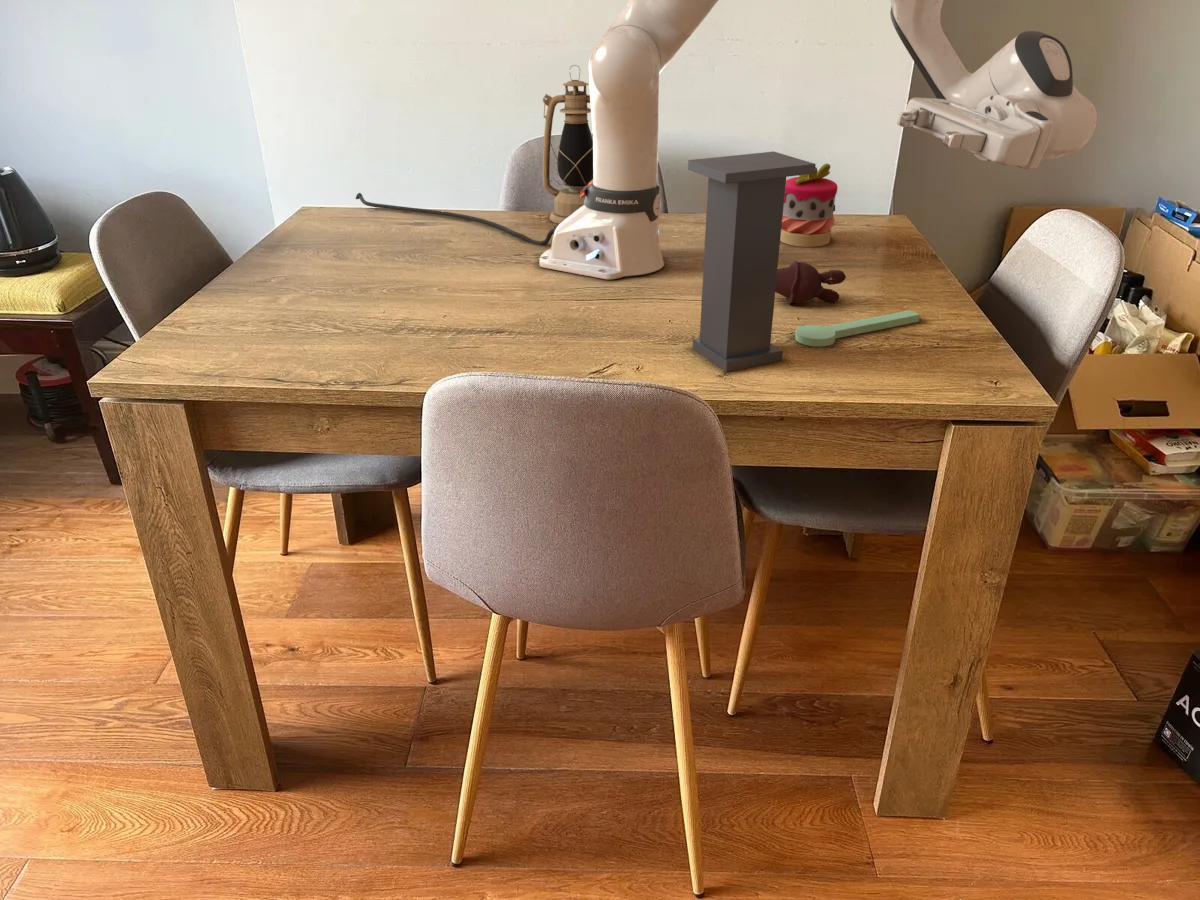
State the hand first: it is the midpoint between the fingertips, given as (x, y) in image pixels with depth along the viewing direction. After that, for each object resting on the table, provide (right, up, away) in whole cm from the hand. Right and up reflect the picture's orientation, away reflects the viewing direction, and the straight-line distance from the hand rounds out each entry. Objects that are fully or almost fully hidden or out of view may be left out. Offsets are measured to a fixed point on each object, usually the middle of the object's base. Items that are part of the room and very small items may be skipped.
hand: (923, 129), depth 119 cm
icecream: (-13, -20, +22) cm, 32 cm away
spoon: (-5, -26, +11) cm, 28 cm away
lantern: (-49, +6, +69) cm, 84 cm away
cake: (-4, -2, +53) cm, 53 cm away
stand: (-25, -30, +3) cm, 39 cm away
